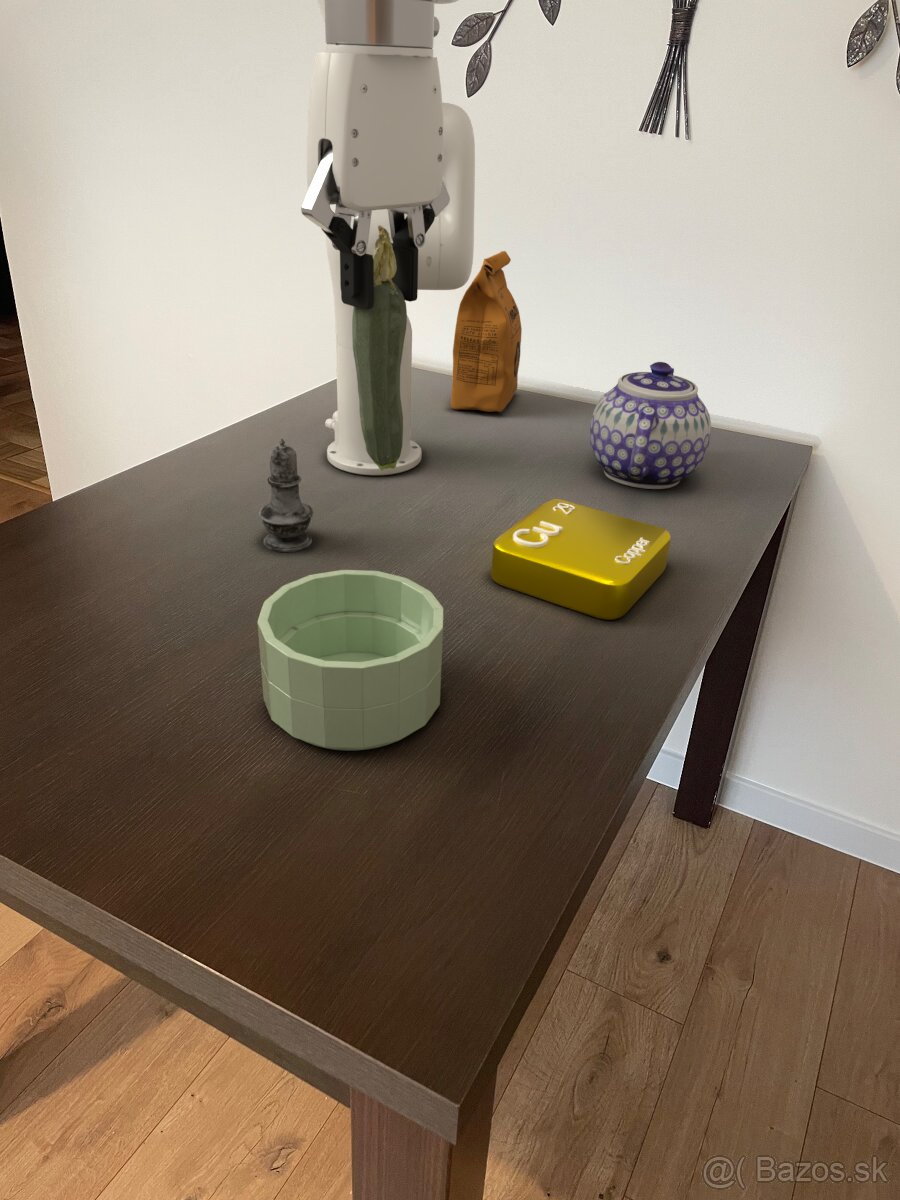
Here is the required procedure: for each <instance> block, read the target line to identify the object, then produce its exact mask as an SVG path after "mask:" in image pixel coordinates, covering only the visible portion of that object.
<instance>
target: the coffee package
mask: <svg viewBox="0 0 900 1200" xmlns="http://www.w3.org/2000/svg"><path fill="white" fill-rule="evenodd" d="M511 260H512V259H511V257H510V256H509V254H508V253H507V251H506V250H502V251H500V252H498V253H495V254H493V255H492V256H489V257H486V258H483V262H482V265H481V267H480V270H479V272H478V273H477V275H476V276H475V277H474V279H473V280H472V282H471V284H470V285H469V286H468V287H467V289H466V290H465V292H464V294H463V296H462V298H461V300H460V302H459V306H458V310H457V316H456V324H455V328H454V329H455V330H454V337H453V345H452V383H451V384H452V385H451V397H450V408H451V409H453V410H457V411H458V410H471V411H474V410H477V411H481V412H485V413H488V412H489V413H493V412H499V413H500V412H503V411H504V410H505V408H506V407H507V405H508V404H509V403H510V402H511V400H513V397H514V395H515V393H516V391H517V389H518V375H519V367H520V360H521V346H522V344H521V343H522V323H521V316H520V311H519V307H518V305H517V303H516V300H515V298H514V296H513V294H512V293H511V291H510V289H509V288H508V285H507V279H506V275H505V273H504V270H503V268H505V267H506V266H508V265H509V264H510V263H511Z"/></svg>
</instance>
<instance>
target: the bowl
mask: <svg viewBox="0 0 900 1200" xmlns="http://www.w3.org/2000/svg"><path fill="white" fill-rule="evenodd" d="M256 624H257V636H258V647H259V659H260V672H261V683H262V696H263V701H264V704H265V707H266V709H267V712H268V715H269V717H270V720H271V721H273V722H274V723H275V724H276V725H278V727H280V728H281V729H283V731H284V732H286V733H288V735H290V736H291V737H293V738H294V739H297V740H301V741H302V742H305V743H307V744H310V745H312V746H316V747H319V748H323V749H328V750H334V751H348V752H349V751H365V750H373V749H377V748H381V747H385V746H388V745H391V744H394V743H396V742H399V741H401V740H403V739H404V738H406V737H408V736H410V735H411V734H413V733H414V732H416V731H418V730H419V729H421V728H423V727H425V726H426V725H427V723H428V722H429V720H430V719H431V718H432V717H433V715H434V714H435V712H436V711H437V709H438V708H439V706H440V705H441V685H442V664H443V663H442V662H443V661H442V660H443V638H444V607H443V606H442V605H441V603H440V602H439V600H438V599H437V598H436V597H435V595H434V594H433V592H432V591H431V590H429V589H427V588H425V587H424V586H422V585H420V584H418V583H417V582H415V581H413V580H411V579H409V578H407V577H404V576H400V575H396V574H391V573H387V572H383V571H380V570H363V569H362V570H361V569H339V570H338V569H337V570H332V571H327V572H320V573H313V574H308V575H306V576H304V577H301V578H298V579H296V580H294V581H291V582H288V583H286V584H284V585H282V586H281V587H279V588H278V589H277V590H276V591H275V592H274V593H273V594H271V595H270V596H269V597H268V598H266V599H265V600H264V601H263V604H262V607H261V609H260V613H259V616H258V619H257V623H256Z"/></svg>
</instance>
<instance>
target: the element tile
mask: <svg viewBox="0 0 900 1200" xmlns="http://www.w3.org/2000/svg"><path fill="white" fill-rule="evenodd" d="M671 539H672V537H671V534H670V532H669V531H668V530H667V529H665V528H663V527H660V526H656V525H653V524H649V523H646V522H643V521H638V520H635V519H632V518H628V517H624V516H621V515H618V514H613V513H611V512H607V511H604V510H600V509H596V508H593V507H590V506H587V505H582V504H579V503H576V502H571V501H569V500H563V499H559V498H553V499H550V500H547V501H544V502H543V503H542V504H541V505H539V506H538V507H536V508H535V509H534V510H532V511H531V512H530V513H528V514H527V515H526V516H524V517H523V518H522V519H520V520H519V521H518V522H517V523H515V524H514V525H513V526H511V527H510V528H508V529H507V530H506V531H504V532H503V533H502V534H500V535H499V536H498V537H497V538H495V540H494V541H493V545H492V557H491V571H490V572H491V573H490V576H491V578H492V581H494V582H495V583H496V584H498V585H499V586H502V587H505V588H507V589H510V590H513V591H517V592H519V593H523V594H525V595H528V596H531V597H534V598H537V599H540V600H542V601H545V602H548V603H551V604H554V605H557V606H560V607H563V608H566V609H570V610H572V611H575V612H578V613H581V614H584V615H587V616H590V617H593V618H596V619H601V620H608V621H612V620H617V619H621V618H622V617H623V616H625V615H626V614H627V613H628V612H629V610H630V609H631V608H632V607H633V606H634V605H635V604H636V603H637V602H638V601H639V600H640V599H641V597H642V596H643V595H644V594H645V593H646V592H647V590H648V589H650V587H651V586H652V585H653V584H654V583H655V582H656V581H657V579H658V578H659V577H661V576H662V574H663V573H664V572H665V570H666V568H667V562H668V556H669V551H670V544H671V541H672V540H671Z"/></svg>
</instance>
